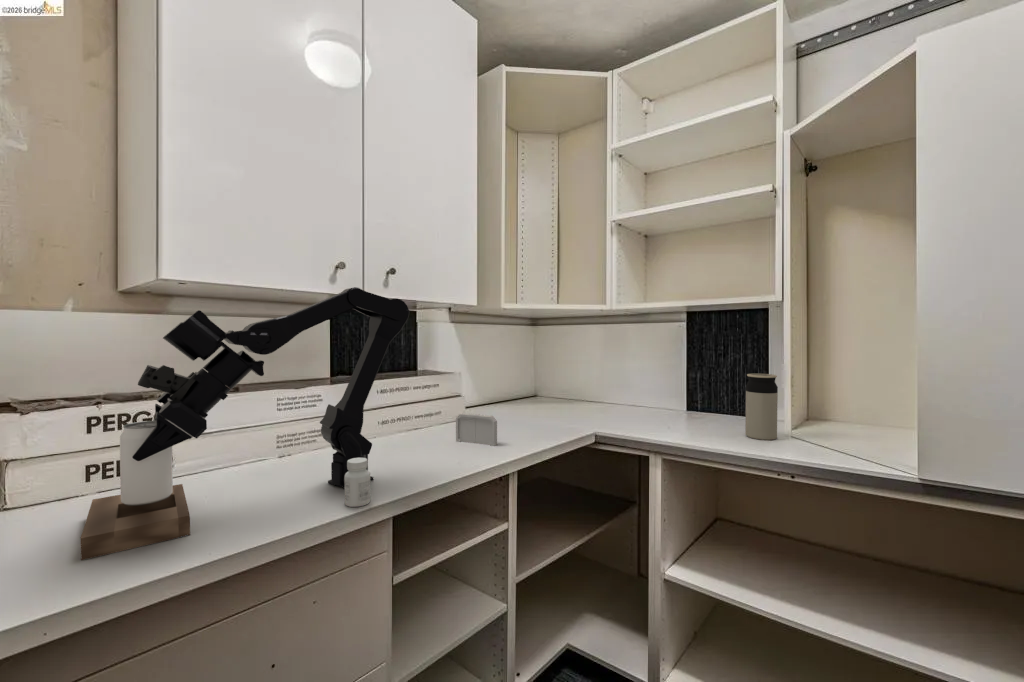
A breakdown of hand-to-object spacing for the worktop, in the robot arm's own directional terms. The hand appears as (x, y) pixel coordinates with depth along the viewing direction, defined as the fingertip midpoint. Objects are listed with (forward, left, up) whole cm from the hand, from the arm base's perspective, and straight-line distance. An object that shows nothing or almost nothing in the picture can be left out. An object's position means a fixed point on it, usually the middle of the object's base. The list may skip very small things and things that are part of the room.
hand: (135, 454), depth 71 cm
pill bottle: (-24, +22, -12) cm, 35 cm away
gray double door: (-70, +16, -12) cm, 73 cm away
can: (-1, 0, -8) cm, 8 cm away
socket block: (-1, 0, -11) cm, 12 cm away
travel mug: (-117, +83, -12) cm, 144 cm away
